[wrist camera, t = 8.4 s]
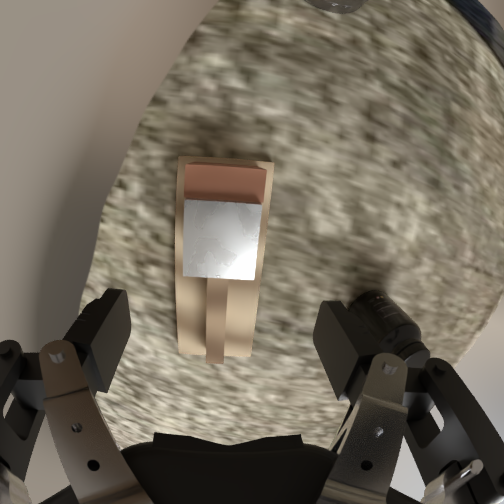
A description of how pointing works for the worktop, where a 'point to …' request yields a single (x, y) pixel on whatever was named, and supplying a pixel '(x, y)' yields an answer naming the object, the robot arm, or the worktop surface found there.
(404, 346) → the supplement bottle
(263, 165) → the rail
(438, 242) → the worktop surface
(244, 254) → the block
